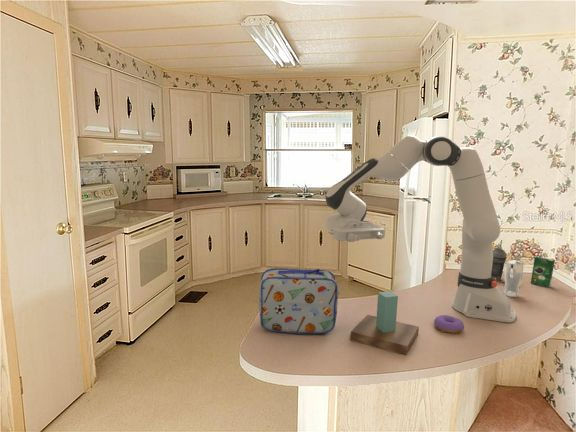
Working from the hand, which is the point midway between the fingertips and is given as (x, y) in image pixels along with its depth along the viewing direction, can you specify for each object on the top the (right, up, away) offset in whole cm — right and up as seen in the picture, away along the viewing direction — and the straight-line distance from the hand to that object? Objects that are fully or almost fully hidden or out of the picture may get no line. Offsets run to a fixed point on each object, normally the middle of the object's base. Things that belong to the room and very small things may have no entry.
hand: (369, 237), depth 145 cm
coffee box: (+90, -25, +46) cm, 105 cm away
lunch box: (-26, -31, -6) cm, 41 cm away
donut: (+27, -32, -3) cm, 42 cm away
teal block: (+3, -29, -12) cm, 32 cm away
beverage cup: (+72, -23, +53) cm, 93 cm away
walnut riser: (+3, -32, -11) cm, 34 cm away
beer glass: (+68, -27, +32) cm, 80 cm away
